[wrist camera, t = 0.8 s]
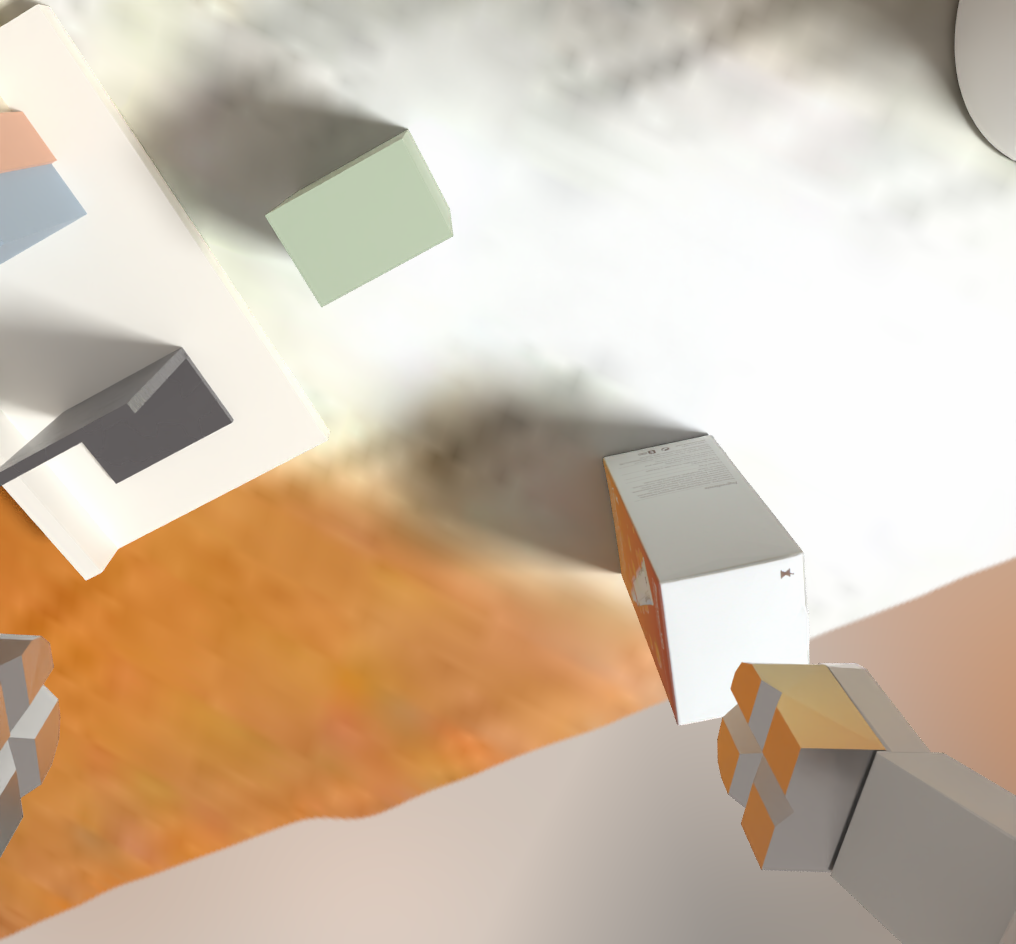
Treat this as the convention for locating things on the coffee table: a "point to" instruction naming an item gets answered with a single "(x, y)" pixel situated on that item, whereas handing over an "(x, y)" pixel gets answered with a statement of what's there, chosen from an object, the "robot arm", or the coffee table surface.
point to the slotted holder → (117, 323)
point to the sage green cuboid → (363, 219)
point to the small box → (705, 571)
